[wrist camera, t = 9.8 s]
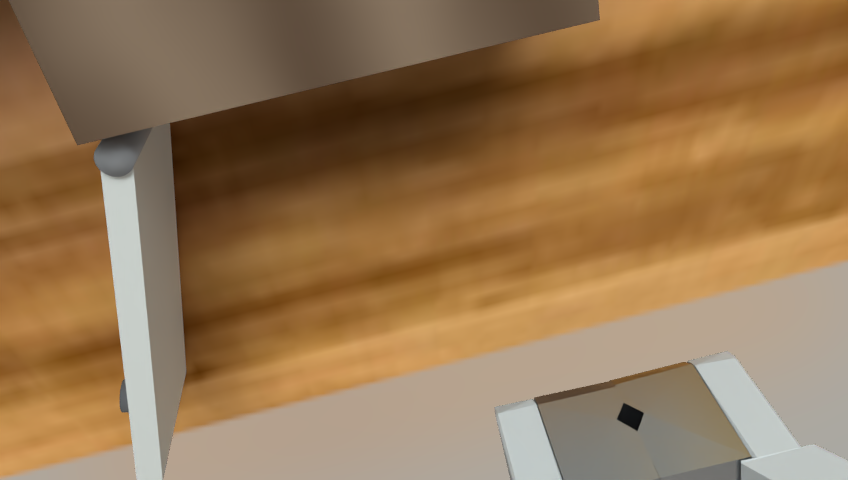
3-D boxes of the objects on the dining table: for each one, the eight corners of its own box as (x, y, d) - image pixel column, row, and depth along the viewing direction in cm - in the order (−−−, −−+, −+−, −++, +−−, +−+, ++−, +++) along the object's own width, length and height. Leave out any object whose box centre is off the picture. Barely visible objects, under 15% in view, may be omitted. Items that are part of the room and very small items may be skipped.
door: (189, 368, 37) (164, 484, 30) (144, 369, 36) (109, 486, 30) (169, 71, 30) (132, 142, 23) (114, 68, 29) (60, 139, 23)
